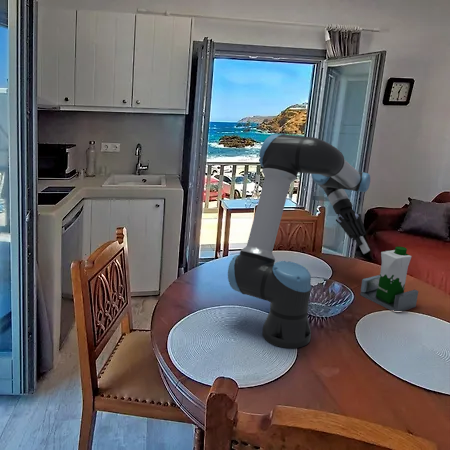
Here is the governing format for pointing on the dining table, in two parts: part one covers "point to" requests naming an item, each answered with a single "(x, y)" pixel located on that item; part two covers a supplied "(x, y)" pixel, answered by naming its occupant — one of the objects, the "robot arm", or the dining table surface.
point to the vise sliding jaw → (370, 283)
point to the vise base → (400, 303)
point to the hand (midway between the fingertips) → (366, 252)
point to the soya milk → (393, 273)
